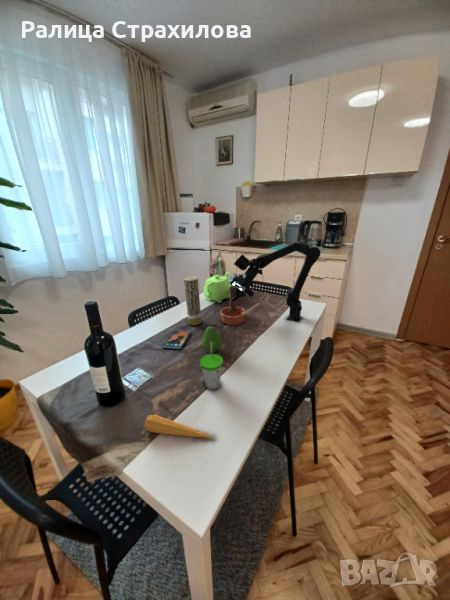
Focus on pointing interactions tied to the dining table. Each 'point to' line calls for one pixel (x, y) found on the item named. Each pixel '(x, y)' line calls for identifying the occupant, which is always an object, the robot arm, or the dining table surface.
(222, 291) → the teapot
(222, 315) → the bowl
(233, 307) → the stirring stick
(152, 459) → the dining table surface
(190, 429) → the carrot
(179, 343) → the smartphone
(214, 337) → the avocado
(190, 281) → the wooden log
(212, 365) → the cup
